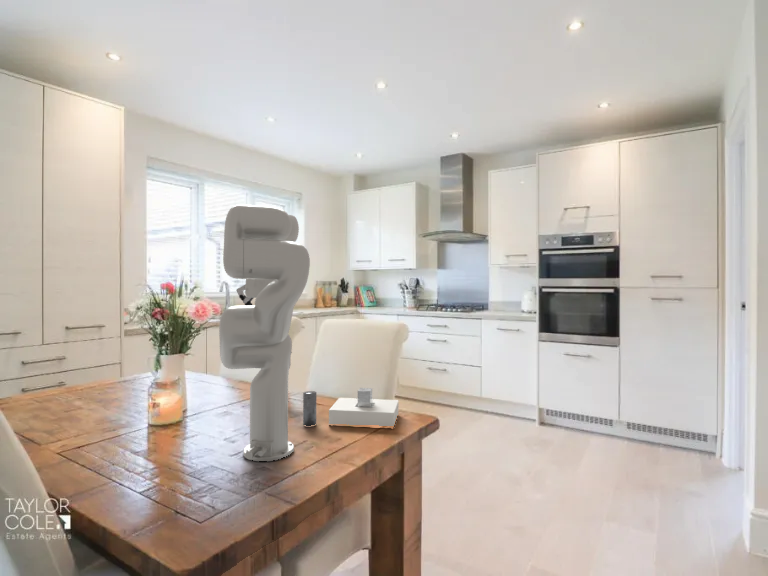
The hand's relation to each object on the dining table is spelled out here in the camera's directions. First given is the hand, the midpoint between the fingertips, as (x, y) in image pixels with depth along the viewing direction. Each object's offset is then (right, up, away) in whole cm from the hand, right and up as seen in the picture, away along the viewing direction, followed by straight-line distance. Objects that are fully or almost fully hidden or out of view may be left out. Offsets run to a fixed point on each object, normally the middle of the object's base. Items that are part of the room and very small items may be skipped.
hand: (264, 316), depth 132 cm
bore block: (+31, -33, +6) cm, 46 cm away
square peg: (+31, -34, +5) cm, 46 cm away
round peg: (+14, -33, +1) cm, 36 cm away
